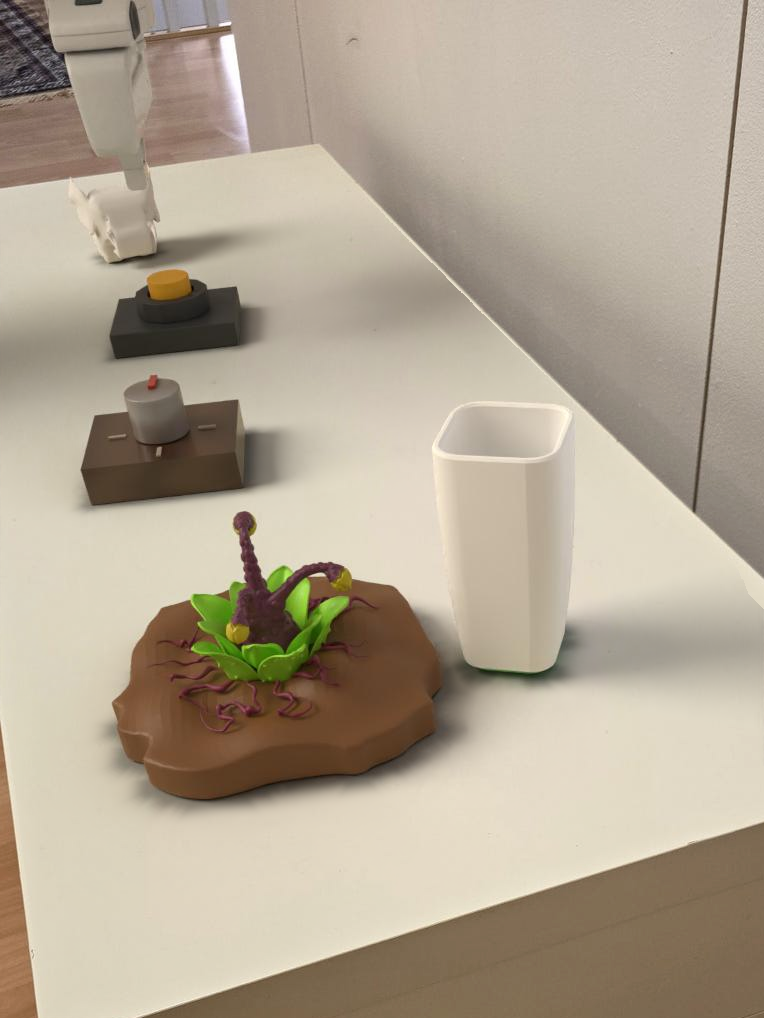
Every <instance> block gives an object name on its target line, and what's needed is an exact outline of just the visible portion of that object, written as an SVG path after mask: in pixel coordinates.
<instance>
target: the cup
mask: <svg viewBox="0 0 764 1018" xmlns="http://www.w3.org/2000/svg"><path fill="white" fill-rule="evenodd" d="M575 420H576V417H575V413H574V412H573V411H572V410H571V409H569V408H568V407H566V406H564V405H562V404H561V405H560V404H556V403H547V402H546V403H544V402H543V403H541V402H519V401H517V402H516V401H492V400H491V401H490V400H489V401H488V400H482V401H471V402H467V403H463V404H461V405H459V406H456V407H455V408H454V409H453V410H452V411H451V412H450V413H449V414H448V416H447V418H446V419H445V421H444V423H443V425H442V427H441V429H440V430H439V432H438V434H437V436H436V438H435V439H434V441H433V443H432V447H431V454H432V464H433V475H434V486H435V487H434V488H435V498H436V508H437V515H438V516H437V517H438V523H439V524H438V525H439V533H440V541H441V547H442V548H441V549H442V556H443V560H444V568H445V574H446V580H447V587H448V592H449V597H450V603H451V608H452V611H453V612H452V613H453V617H454V622H455V626H456V631H457V634H458V639H459V644H460V646H461V650H462V654H463V659H464V660H465V662H466V664H468V665H470V666H472V667H474V668H476V669H479V670H484V671H492V672H504V673H515V674H525V675H526V674H528V675H529V674H537V673H542V672H544V671H546V670H548V669H550V668H551V667H553V666H554V664H555V663H556V661H557V659H558V655H559V652H560V649H561V645H562V643H563V639H564V636H565V631H566V626H567V625H566V624H567V617H568V608H569V602H570V591H571V580H572V572H573V571H572V568H573V560H574V559H573V558H574V537H575V536H574V535H575V513H576V506H575V505H576V421H575Z"/></svg>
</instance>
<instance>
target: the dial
mask: <svg viewBox="0 0 764 1018" xmlns="http://www.w3.org/2000/svg"><path fill="white" fill-rule="evenodd" d="M123 399H124V402H125V406H126V410H127V412H128V414H129V417H130V421H131V425H132V429H133V432H134V436H135V438H136V440H138V441H139V442H141V443H145V444H164V443H168V442H172V441H175V440H178V439H180V438H182V437H183V436H185V435H186V434H187V433H188V431H189V423H188V419H187V415H186V410H185V406H184V405H185V402H184V398H183V393H182V389H181V385H180V384H179V382H177V381H176V380H173V379H170V378H159V376H158V374H150V375H149V378H148V379H144V380H142V381H137V382H136V383H133V384H131V385H130V386H128V387H127V388H126V389H125V390H124V392H123Z"/></svg>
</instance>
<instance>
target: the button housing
mask: <svg viewBox="0 0 764 1018" xmlns="http://www.w3.org/2000/svg"><path fill="white" fill-rule="evenodd" d="M189 281H190V285H191V290H192V292H191V293H190V294H188V295H186V296H183V297H180V298H176V299H170V300H155V299H151V296H150V292H149V288H148V284H146V285H145V286H143V287H141V288H140V289H138V290H136V291H135V295H134V297H124V298H119V299H118V301H117V305H116V309H115V313H114V316H113V321H112V324H111V327H110V332H109V335H108V337H109V341H110V345H111V348H112V352H113V356H114V358H115V359H124V358H133V357H140V356H149V355H157V354H160V355H161V354H168V353H177V352H178V353H179V352H185V351H195V350H204V349H213V348H223V347H231V346H239V345H240V332H241V331H240V330H241V316H242V315H241V313H242V306H241V300H240V295H239V289H238V286H235V285H234V286H227V287H218V288H208V285H207V284H206V283H204V282H203V281H201V280H199V279H196V278H195V279H194V278H189Z"/></svg>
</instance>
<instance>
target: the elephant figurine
mask: <svg viewBox="0 0 764 1018" xmlns="http://www.w3.org/2000/svg"><path fill="white" fill-rule="evenodd" d="M147 167H148V172H149V180H148V184H147V187H146V189H144V190H136V191H132V190H130V189H129V188H128V187H127V183H126V182H125V183H120V184H115V185H110V186H104V187H99V188H95V189H92V190H90V191H89V192H88V193H87V194H85V192H84V191H83V190H81V188H80V187H78V186H77V185H76V183H75V182H74V180H73V178H72V177H71V176H69V181H68V183H69V184H68V195H67V196H68V197H67V200H68V201H69V202H70V203H71V204H73V206H75V209H76V211H77V216H78V219H79V221H80V223H81V224H82V225H83V227H85V228H86V229H87V232H88V234H89V235H90V236H92V239H93V242H94V244H95V247H96V248H97V250H98V253H99V254H100V256H101V257H102V258H103V259H104V261H105V262H106V263H114V262H121V261H123V260H124V259H129V258H132V257H137V256H140V257H141V256H143V257H146V256H149V255H154V254H156V253H157V248H158V247H157V245H158V235H157V228H156V225H155V223H154V221H155V222H156V223H160V222H161V216H160V212H159V209H158V206H157V203H156V200H155V194H154V192H155V191H154V186H153V182H152V178H151V171H150V166H149V164H148V163H147Z"/></svg>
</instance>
